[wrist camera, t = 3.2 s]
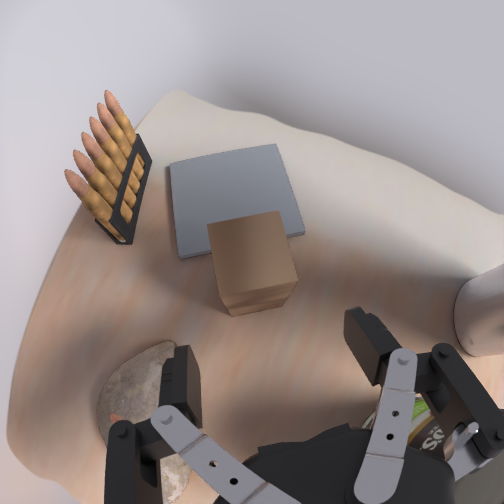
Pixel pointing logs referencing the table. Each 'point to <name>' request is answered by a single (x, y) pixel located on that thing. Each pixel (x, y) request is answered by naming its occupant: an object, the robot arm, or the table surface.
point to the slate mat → (229, 194)
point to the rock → (142, 408)
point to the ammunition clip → (112, 172)
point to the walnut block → (252, 262)
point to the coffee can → (432, 442)
